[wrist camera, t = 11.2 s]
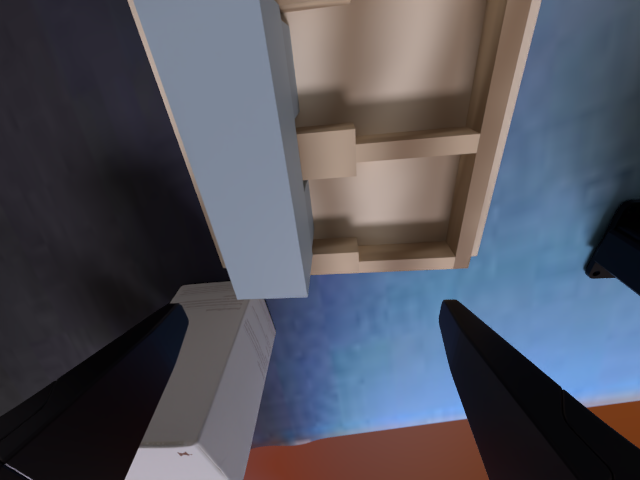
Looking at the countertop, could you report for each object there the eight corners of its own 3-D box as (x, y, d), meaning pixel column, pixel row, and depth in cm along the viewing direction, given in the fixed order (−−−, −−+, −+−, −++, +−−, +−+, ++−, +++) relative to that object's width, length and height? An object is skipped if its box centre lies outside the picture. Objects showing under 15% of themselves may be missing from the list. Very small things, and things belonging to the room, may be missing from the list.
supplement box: (179, 283, 25) (63, 447, 14) (259, 277, 24) (199, 446, 13) (208, 337, 29) (133, 497, 18) (277, 333, 28) (242, 499, 17)
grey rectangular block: (287, 13, 14) (256, -18, 8) (315, 235, 21) (307, 297, 15) (210, 23, 14) (133, 0, 9) (262, 238, 21) (237, 299, 16)
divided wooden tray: (556, -91, 12) (605, -124, 10) (473, 251, 22) (489, 272, 19) (125, -25, 14) (86, -41, 12) (225, 263, 23) (214, 284, 21)
